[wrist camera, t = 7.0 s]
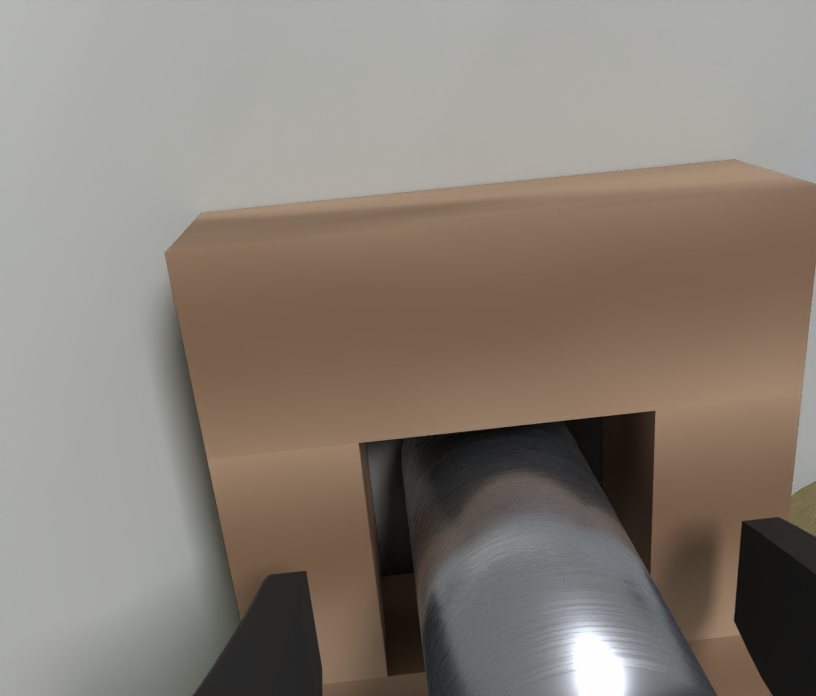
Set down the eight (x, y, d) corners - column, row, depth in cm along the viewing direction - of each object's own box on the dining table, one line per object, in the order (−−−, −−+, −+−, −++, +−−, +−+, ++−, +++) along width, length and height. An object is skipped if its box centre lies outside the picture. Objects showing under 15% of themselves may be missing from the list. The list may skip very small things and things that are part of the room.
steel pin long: (563, 523, 17) (720, 881, 10) (402, 530, 17) (438, 902, 10) (574, 374, 16) (764, 659, 9) (399, 380, 16) (441, 676, 8)
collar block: (702, 658, 19) (762, 764, 16) (293, 707, 19) (282, 823, 16) (734, 159, 15) (824, 186, 12) (201, 212, 14) (164, 253, 12)
